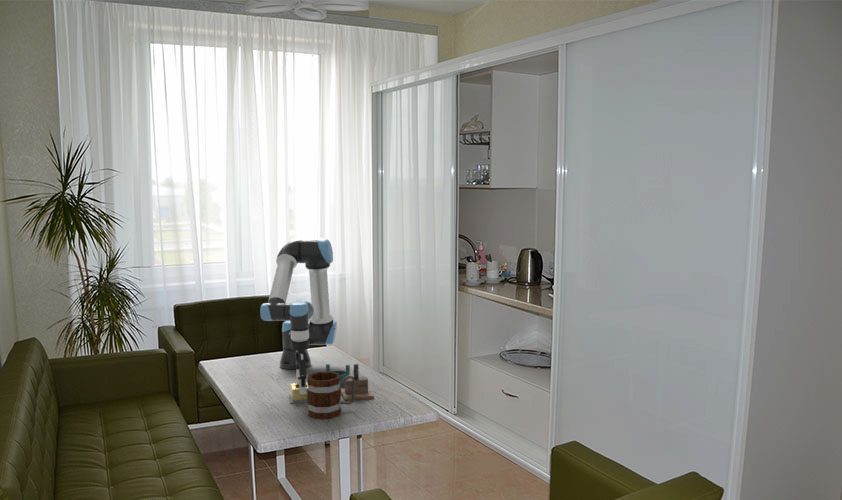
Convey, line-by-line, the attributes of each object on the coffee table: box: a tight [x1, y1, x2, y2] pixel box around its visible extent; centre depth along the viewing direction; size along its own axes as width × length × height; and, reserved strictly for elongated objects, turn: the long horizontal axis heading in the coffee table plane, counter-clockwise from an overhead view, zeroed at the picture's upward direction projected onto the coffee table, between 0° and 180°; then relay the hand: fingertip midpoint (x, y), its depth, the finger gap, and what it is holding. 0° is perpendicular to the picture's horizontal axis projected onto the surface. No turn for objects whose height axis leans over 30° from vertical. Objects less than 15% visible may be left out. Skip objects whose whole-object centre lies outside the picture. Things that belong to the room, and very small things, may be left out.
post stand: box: [340, 363, 375, 402], centre depth 282 cm, size 14×12×13 cm
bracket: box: [325, 363, 351, 388], centre depth 298 cm, size 9×9×9 cm
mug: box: [306, 371, 356, 420], centre depth 261 cm, size 20×14×15 cm
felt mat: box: [288, 394, 308, 405], centre depth 278 cm, size 10×10×1 cm
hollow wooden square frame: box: [290, 381, 308, 401], centre depth 278 cm, size 8×8×5 cm
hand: (301, 389), depth 278 cm, fingers open, 13 cm apart
